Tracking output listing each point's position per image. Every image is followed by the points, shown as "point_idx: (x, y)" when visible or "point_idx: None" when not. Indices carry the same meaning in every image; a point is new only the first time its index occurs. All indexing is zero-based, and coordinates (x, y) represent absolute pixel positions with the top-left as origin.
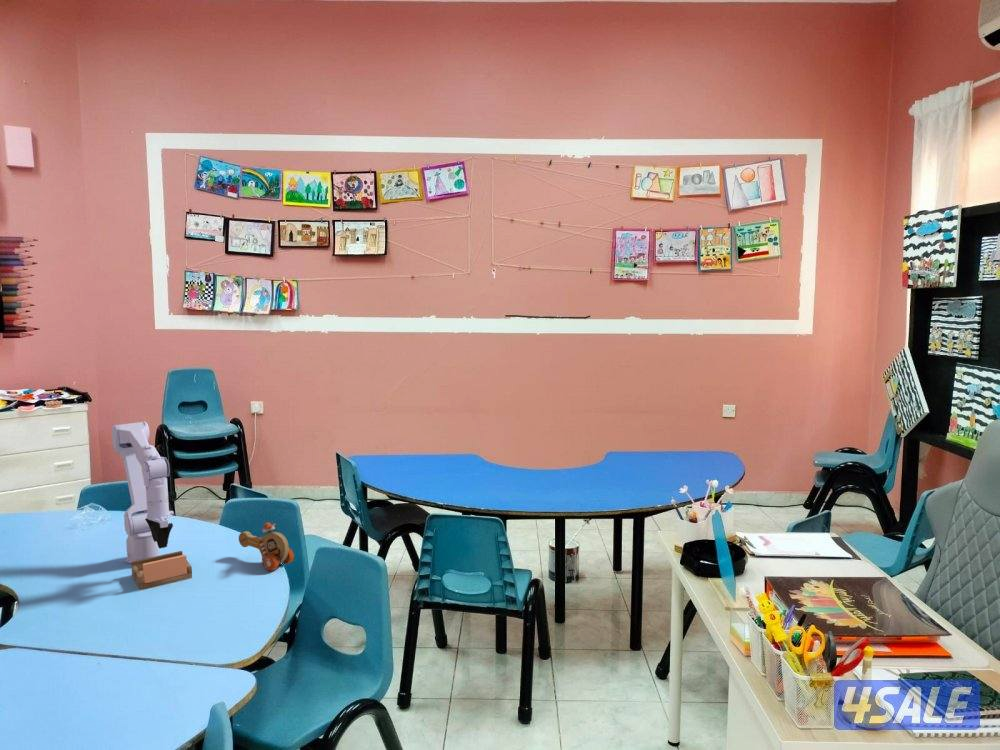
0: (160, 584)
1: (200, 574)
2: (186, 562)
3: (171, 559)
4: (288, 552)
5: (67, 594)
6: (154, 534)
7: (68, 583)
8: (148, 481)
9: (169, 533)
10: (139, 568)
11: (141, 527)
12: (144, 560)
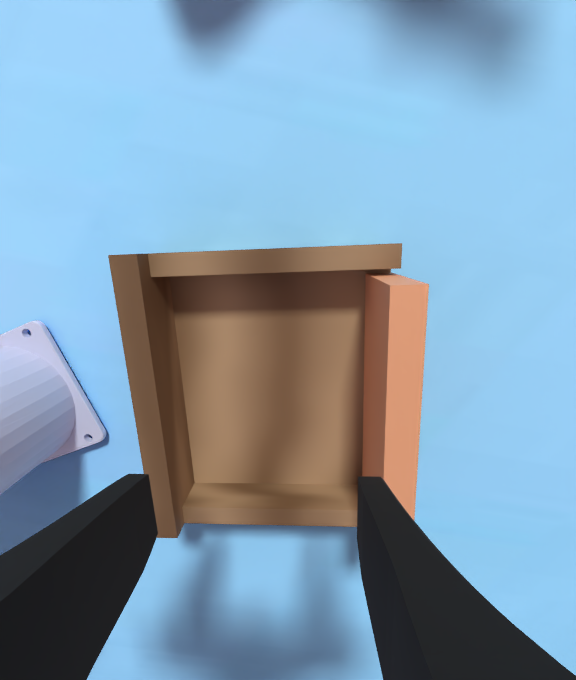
0: None
1: (363, 190)
2: (411, 279)
3: (418, 399)
4: None
5: (244, 674)
6: (112, 602)
7: (139, 658)
8: None
9: (501, 614)
10: (188, 477)
11: None
12: (170, 479)
